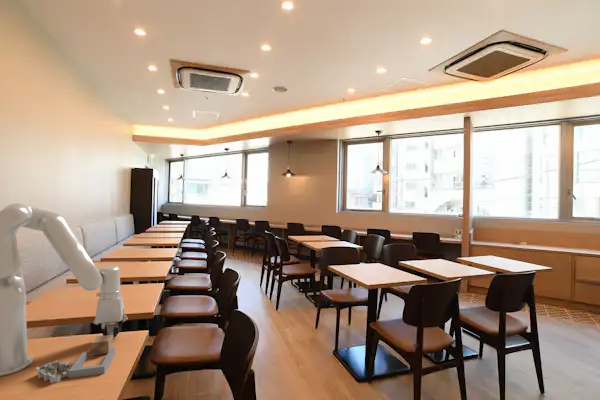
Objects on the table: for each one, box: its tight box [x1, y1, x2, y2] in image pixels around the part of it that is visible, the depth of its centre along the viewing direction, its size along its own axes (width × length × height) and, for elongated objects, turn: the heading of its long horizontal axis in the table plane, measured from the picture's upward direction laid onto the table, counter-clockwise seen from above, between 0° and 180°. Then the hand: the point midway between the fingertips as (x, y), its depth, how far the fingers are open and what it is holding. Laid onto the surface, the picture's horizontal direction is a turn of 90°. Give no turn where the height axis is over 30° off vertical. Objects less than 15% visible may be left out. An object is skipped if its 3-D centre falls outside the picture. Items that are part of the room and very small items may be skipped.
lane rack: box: [68, 347, 116, 379], centre depth 118 cm, size 11×14×2 cm
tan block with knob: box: [90, 322, 116, 357], centre depth 132 cm, size 6×16×6 cm, turn 16°
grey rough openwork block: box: [36, 360, 74, 384], centre depth 111 cm, size 11×8×4 cm
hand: (110, 335), depth 138 cm, fingers closed on tan block with knob, 3 cm apart
